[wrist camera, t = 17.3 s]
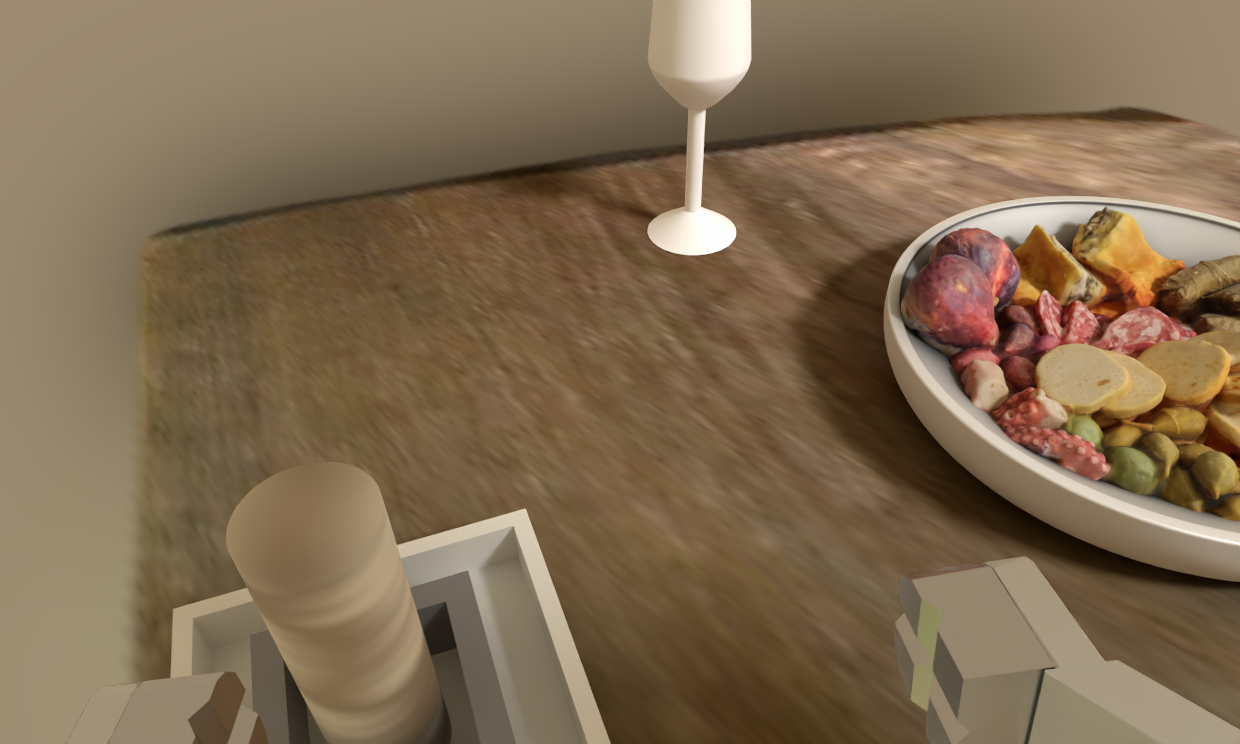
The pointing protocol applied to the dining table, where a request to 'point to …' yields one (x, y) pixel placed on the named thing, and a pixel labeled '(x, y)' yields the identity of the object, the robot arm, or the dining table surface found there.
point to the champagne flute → (697, 102)
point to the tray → (431, 643)
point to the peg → (339, 604)
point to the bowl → (1084, 367)
